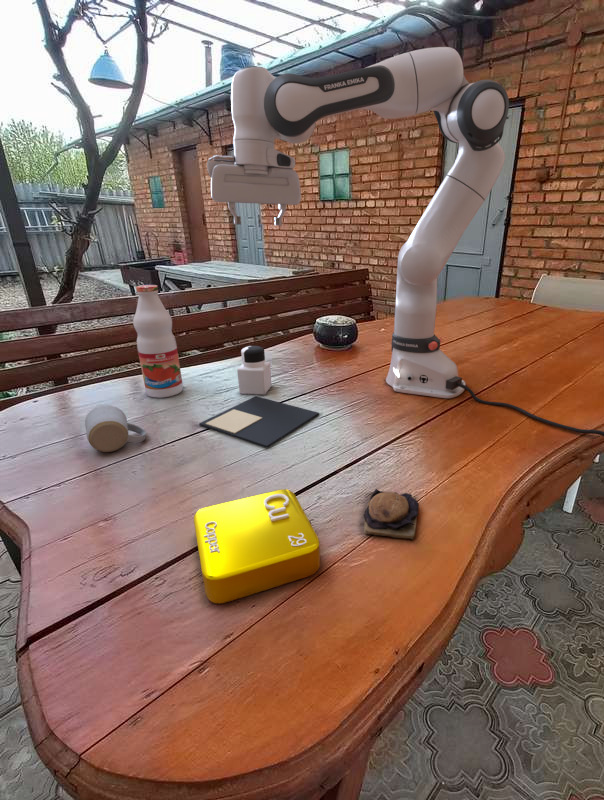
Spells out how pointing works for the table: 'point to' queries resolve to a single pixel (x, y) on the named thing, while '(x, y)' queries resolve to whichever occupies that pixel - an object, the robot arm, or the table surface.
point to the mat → (260, 421)
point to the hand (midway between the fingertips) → (258, 225)
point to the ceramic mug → (110, 429)
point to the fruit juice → (156, 345)
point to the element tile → (254, 545)
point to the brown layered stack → (391, 515)
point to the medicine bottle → (254, 371)
